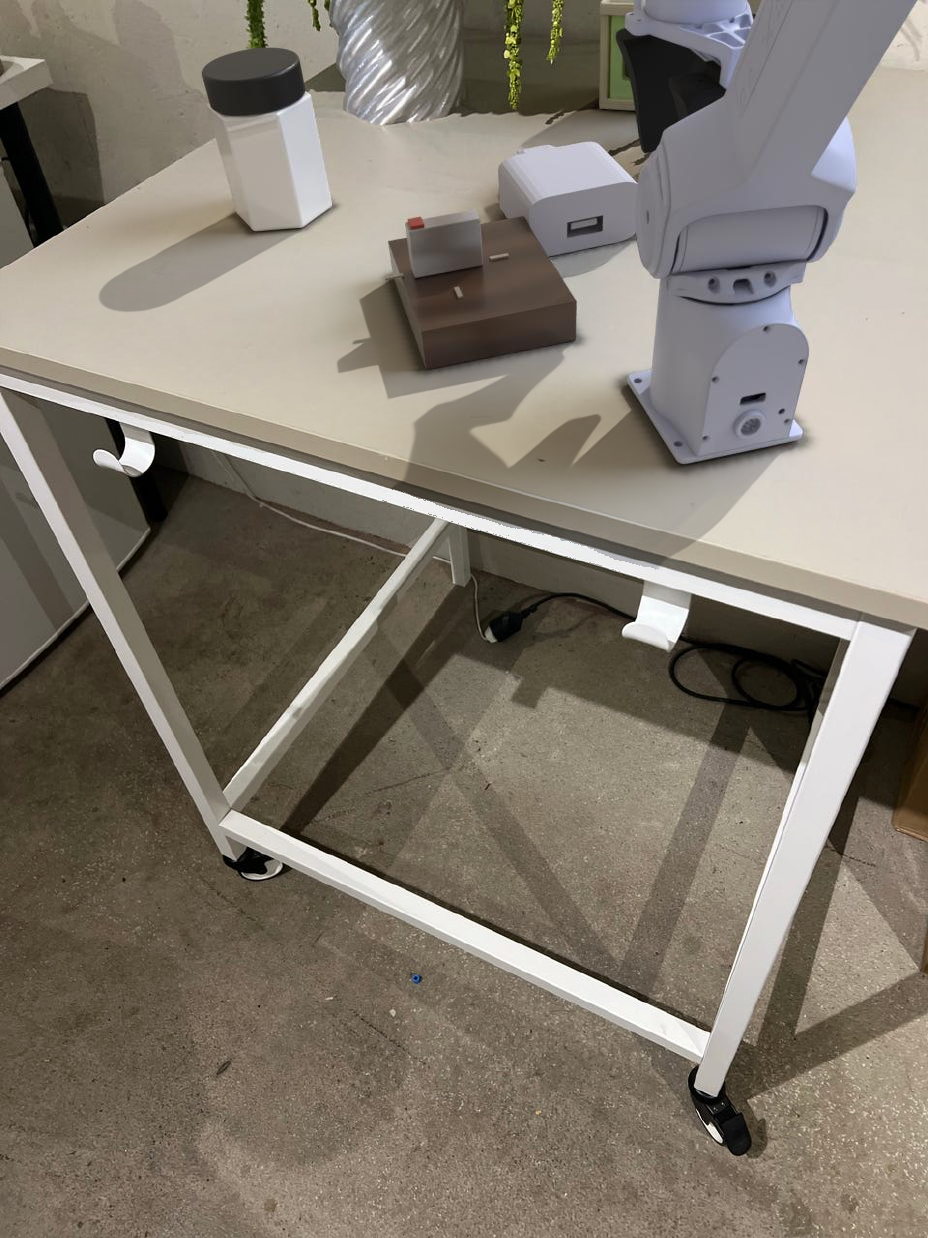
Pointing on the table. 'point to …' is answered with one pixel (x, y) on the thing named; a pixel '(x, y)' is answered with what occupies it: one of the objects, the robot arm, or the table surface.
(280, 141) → the jar
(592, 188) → the charger
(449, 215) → the block
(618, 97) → the toy kitchen stove
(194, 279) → the table surface
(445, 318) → the brown square block base
